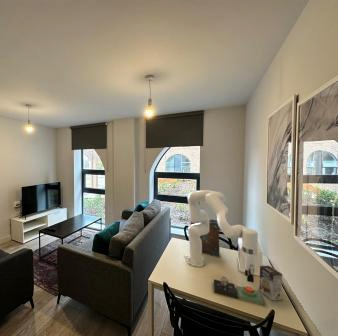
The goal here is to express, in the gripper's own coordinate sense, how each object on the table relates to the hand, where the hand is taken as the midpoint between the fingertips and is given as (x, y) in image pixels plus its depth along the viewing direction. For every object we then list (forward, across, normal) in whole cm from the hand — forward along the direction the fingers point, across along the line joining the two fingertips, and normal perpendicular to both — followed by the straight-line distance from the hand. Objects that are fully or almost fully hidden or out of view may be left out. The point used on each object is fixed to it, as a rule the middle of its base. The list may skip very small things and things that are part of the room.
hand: (249, 278), depth 114 cm
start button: (+8, 0, 0) cm, 8 cm away
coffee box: (+12, -7, +12) cm, 18 cm away
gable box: (+12, -38, +7) cm, 40 cm away
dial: (+8, 0, -13) cm, 15 cm away
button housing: (+11, 0, 0) cm, 11 cm away
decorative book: (+12, -49, -24) cm, 56 cm away
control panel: (+11, 0, -13) cm, 17 cm away
